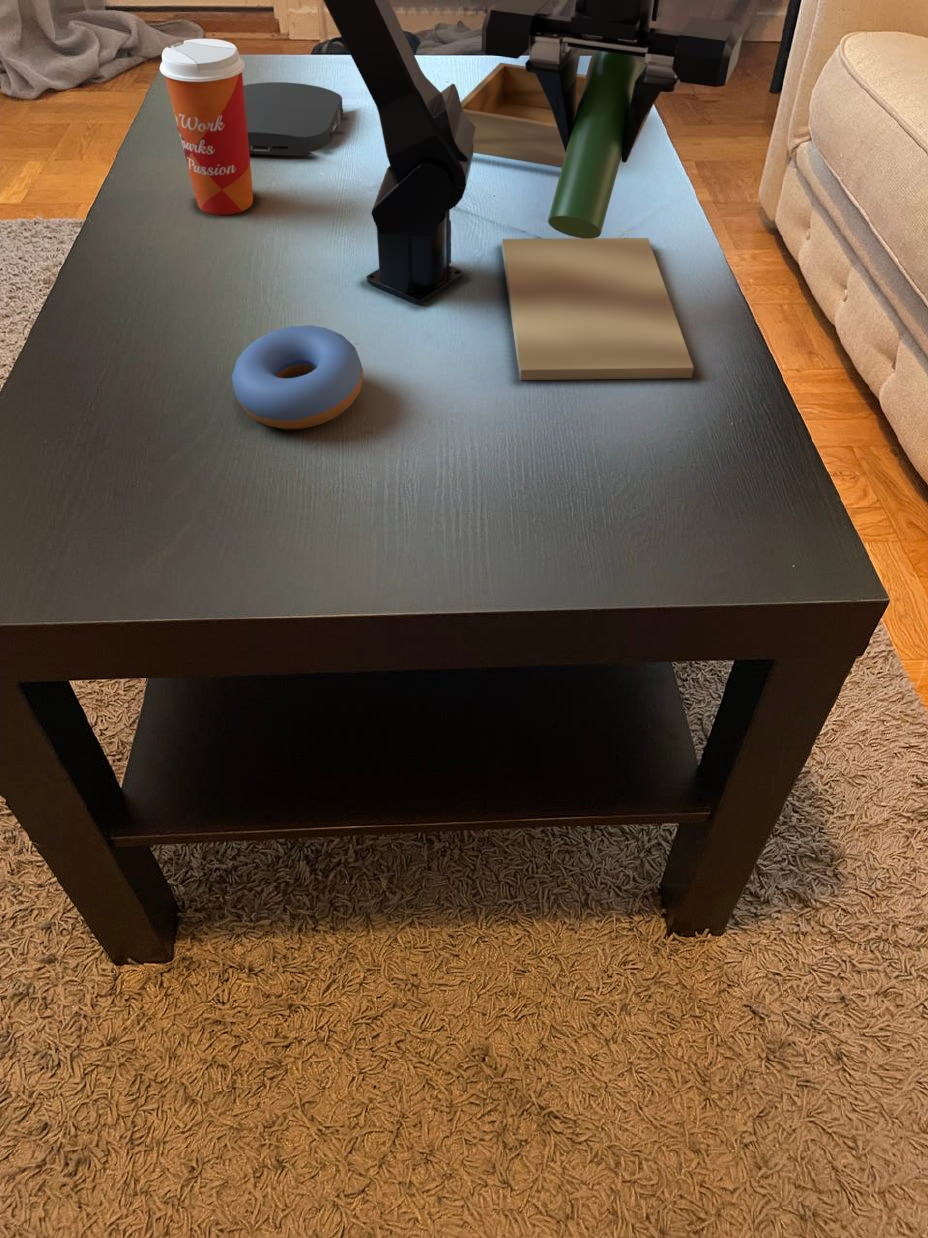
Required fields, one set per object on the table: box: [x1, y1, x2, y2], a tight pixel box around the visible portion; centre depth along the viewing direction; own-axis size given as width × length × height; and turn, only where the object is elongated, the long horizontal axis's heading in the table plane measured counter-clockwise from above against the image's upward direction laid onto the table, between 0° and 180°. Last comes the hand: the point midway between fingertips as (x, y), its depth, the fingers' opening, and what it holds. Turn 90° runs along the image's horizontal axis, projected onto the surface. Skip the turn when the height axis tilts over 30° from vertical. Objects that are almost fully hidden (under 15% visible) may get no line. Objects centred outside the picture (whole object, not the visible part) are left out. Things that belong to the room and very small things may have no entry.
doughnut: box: [231, 324, 364, 430], centre depth 74 cm, size 10×10×5 cm
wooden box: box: [460, 62, 586, 169], centre depth 109 cm, size 16×14×5 cm
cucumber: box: [547, 51, 645, 239], centre depth 78 cm, size 4×4×14 cm
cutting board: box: [501, 237, 695, 381], centre depth 86 cm, size 22×14×1 cm, turn 2°
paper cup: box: [159, 38, 254, 216], centre depth 94 cm, size 8×8×14 cm
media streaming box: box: [243, 81, 344, 156], centre depth 110 cm, size 15×15×3 cm
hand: (597, 155), depth 79 cm, fingers closed on cucumber, 4 cm apart
